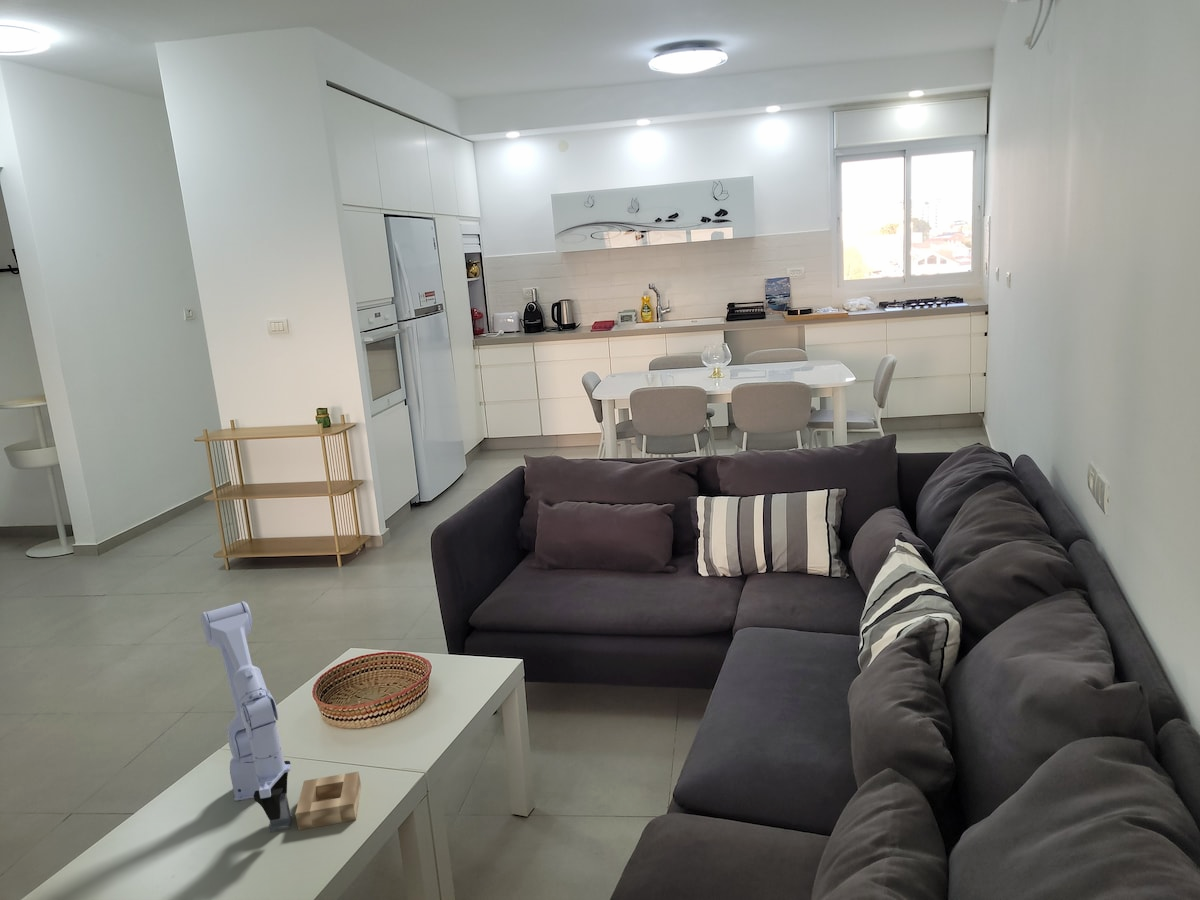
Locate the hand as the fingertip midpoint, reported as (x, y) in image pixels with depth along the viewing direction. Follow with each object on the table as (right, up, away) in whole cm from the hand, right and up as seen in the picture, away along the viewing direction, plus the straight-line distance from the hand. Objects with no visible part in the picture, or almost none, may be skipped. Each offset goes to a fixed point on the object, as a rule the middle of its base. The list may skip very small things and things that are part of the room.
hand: (278, 807), depth 191 cm
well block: (+10, -2, +5) cm, 11 cm away
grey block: (0, -4, +1) cm, 4 cm away
